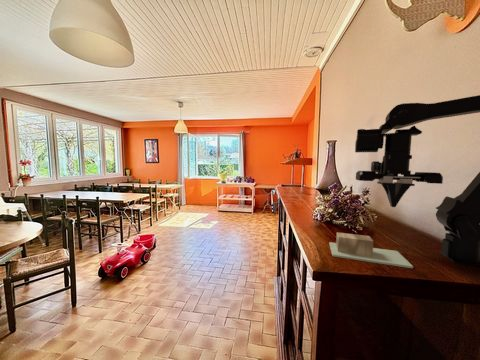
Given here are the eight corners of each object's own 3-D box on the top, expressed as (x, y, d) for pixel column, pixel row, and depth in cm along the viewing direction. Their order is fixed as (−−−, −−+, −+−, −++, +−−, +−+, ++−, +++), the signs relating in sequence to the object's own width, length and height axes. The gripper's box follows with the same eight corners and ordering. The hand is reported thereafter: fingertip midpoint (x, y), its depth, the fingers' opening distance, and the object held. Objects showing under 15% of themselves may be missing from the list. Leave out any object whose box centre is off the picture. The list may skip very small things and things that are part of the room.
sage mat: (397, 252, 54) (397, 251, 54) (413, 268, 46) (413, 266, 46) (329, 243, 60) (329, 242, 60) (332, 256, 52) (332, 254, 52)
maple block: (369, 236, 54) (336, 232, 57) (373, 241, 51) (338, 236, 53) (368, 250, 55) (335, 245, 57) (372, 256, 51) (337, 251, 53)
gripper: (423, 153, 60) (418, 204, 62) (353, 153, 67) (350, 200, 68) (446, 151, 50) (441, 212, 51) (361, 151, 56) (358, 206, 57)
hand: (392, 206), depth 57 cm, fingers closed
